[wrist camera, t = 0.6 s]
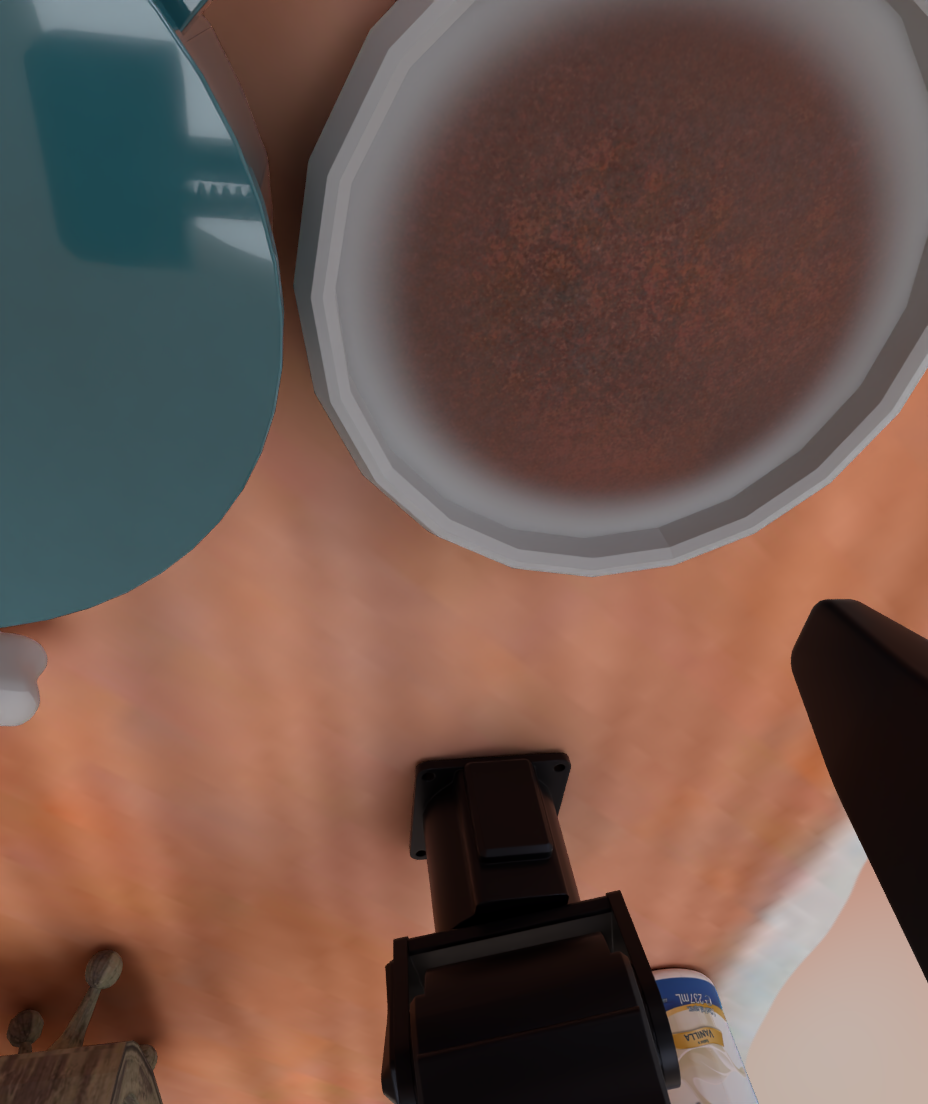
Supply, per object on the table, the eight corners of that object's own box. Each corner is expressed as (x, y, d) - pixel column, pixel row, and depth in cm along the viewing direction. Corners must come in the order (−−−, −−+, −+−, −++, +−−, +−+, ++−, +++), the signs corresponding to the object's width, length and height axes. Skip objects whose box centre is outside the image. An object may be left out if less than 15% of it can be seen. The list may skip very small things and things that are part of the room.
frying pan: (1793, -700, 12) (738, 641, 25) (1545, -585, 14) (703, 586, 28) (1068, -2531, 6) (211, 511, 20) (850, -1805, 8) (222, 455, 22)
